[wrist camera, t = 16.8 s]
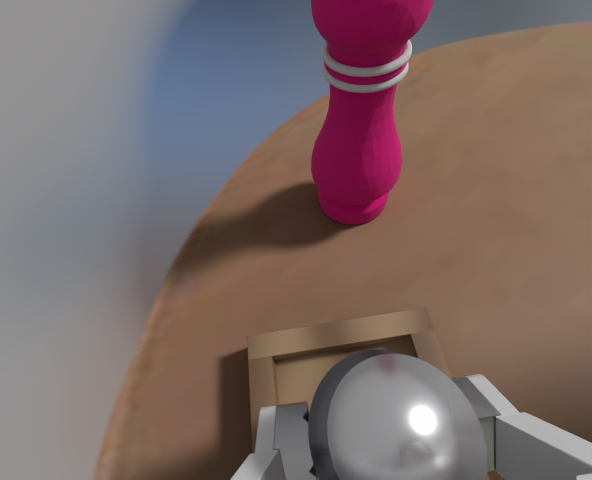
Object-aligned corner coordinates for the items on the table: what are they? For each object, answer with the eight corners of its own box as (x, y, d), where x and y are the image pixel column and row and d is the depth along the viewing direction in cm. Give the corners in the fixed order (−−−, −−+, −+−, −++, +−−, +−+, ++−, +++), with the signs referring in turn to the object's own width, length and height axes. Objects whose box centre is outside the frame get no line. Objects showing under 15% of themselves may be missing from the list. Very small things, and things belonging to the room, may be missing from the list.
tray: (416, 318, 22) (425, 307, 20) (495, 543, 16) (520, 562, 14) (255, 344, 22) (247, 336, 20) (268, 577, 16) (258, 601, 14)
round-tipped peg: (388, 376, 15) (461, 318, 7) (414, 474, 13) (566, 561, 5) (311, 388, 15) (291, 345, 7) (325, 487, 13) (320, 598, 5)
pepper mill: (347, 244, 26) (379, -100, 9) (298, 194, 29) (255, -123, 12) (408, 202, 27) (533, -156, 11) (355, 159, 31) (386, -162, 14)
